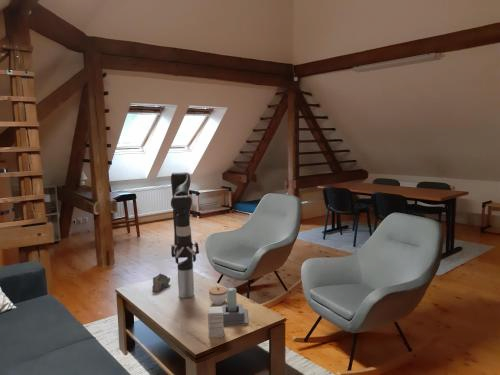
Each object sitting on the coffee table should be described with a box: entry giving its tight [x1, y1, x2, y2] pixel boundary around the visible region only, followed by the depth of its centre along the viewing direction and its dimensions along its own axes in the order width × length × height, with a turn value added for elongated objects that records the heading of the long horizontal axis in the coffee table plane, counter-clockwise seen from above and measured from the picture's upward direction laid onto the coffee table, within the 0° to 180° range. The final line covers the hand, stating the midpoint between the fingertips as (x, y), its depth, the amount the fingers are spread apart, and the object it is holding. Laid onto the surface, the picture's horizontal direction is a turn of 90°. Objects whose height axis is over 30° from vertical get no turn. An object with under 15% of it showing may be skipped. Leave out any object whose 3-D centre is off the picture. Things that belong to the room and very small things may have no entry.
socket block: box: [221, 304, 249, 327], centre depth 211 cm, size 16×16×5 cm
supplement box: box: [207, 305, 225, 339], centre depth 194 cm, size 7×7×13 cm
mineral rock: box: [152, 273, 171, 292], centre depth 253 cm, size 13×11×10 cm
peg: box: [226, 287, 238, 312], centre depth 210 cm, size 5×5×15 cm
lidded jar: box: [208, 286, 228, 306], centre depth 230 cm, size 11×11×9 cm
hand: (185, 262), depth 210 cm, fingers open, 8 cm apart
